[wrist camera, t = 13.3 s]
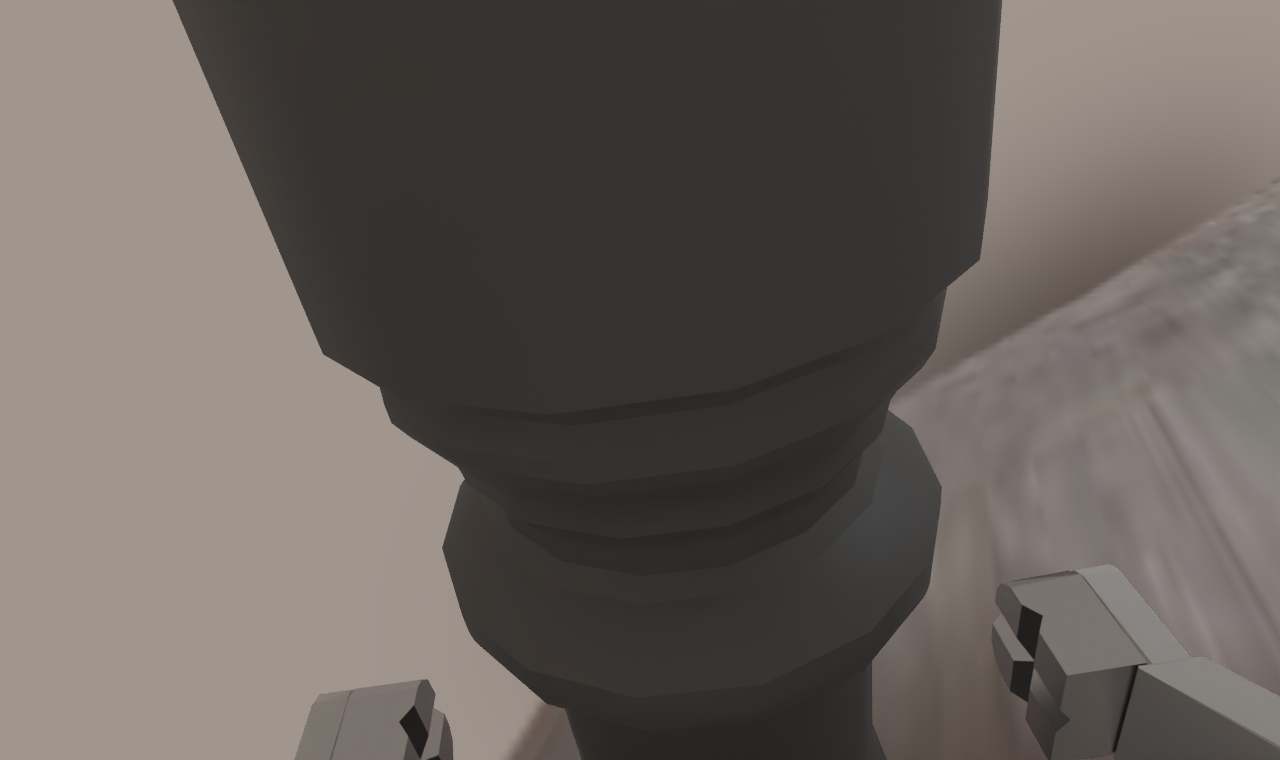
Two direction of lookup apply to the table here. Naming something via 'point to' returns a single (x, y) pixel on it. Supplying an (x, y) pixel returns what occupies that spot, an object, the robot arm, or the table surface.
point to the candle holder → (641, 320)
